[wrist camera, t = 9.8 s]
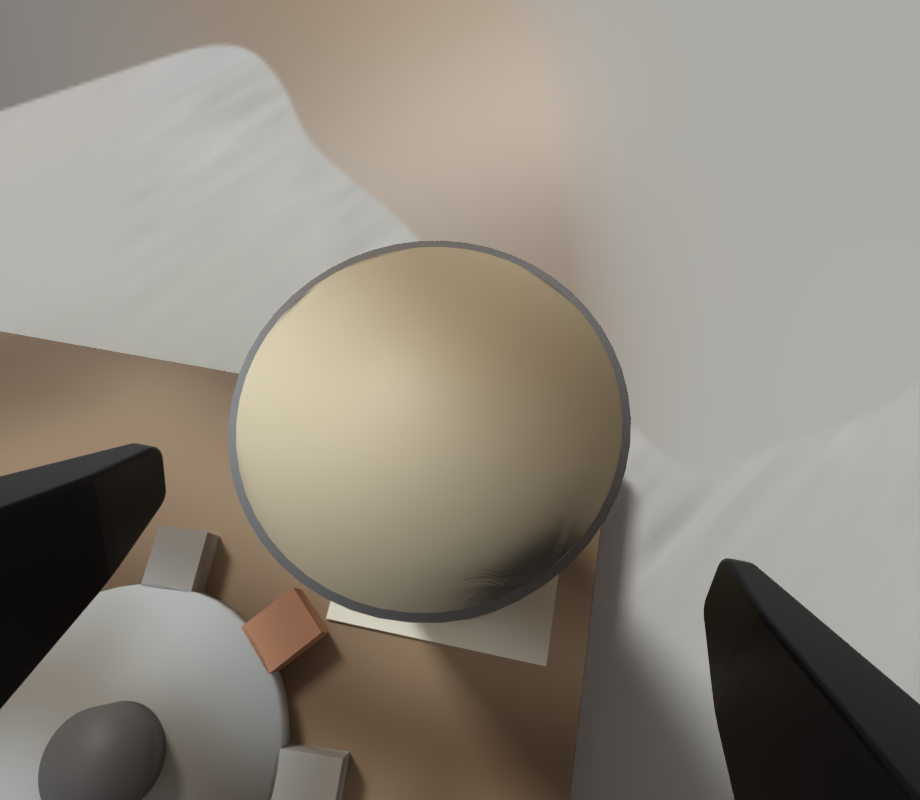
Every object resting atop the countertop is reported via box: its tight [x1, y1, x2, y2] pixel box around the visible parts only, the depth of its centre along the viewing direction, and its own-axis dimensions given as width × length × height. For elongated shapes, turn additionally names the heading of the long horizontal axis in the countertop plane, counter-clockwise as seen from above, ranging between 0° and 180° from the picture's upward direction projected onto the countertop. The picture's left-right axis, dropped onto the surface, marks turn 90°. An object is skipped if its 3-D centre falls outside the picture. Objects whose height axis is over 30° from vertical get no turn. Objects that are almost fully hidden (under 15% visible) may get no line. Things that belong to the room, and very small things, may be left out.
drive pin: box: [228, 241, 631, 623], centre depth 12 cm, size 5×5×10 cm
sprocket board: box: [0, 332, 601, 800], centre depth 16 cm, size 16×22×3 cm
